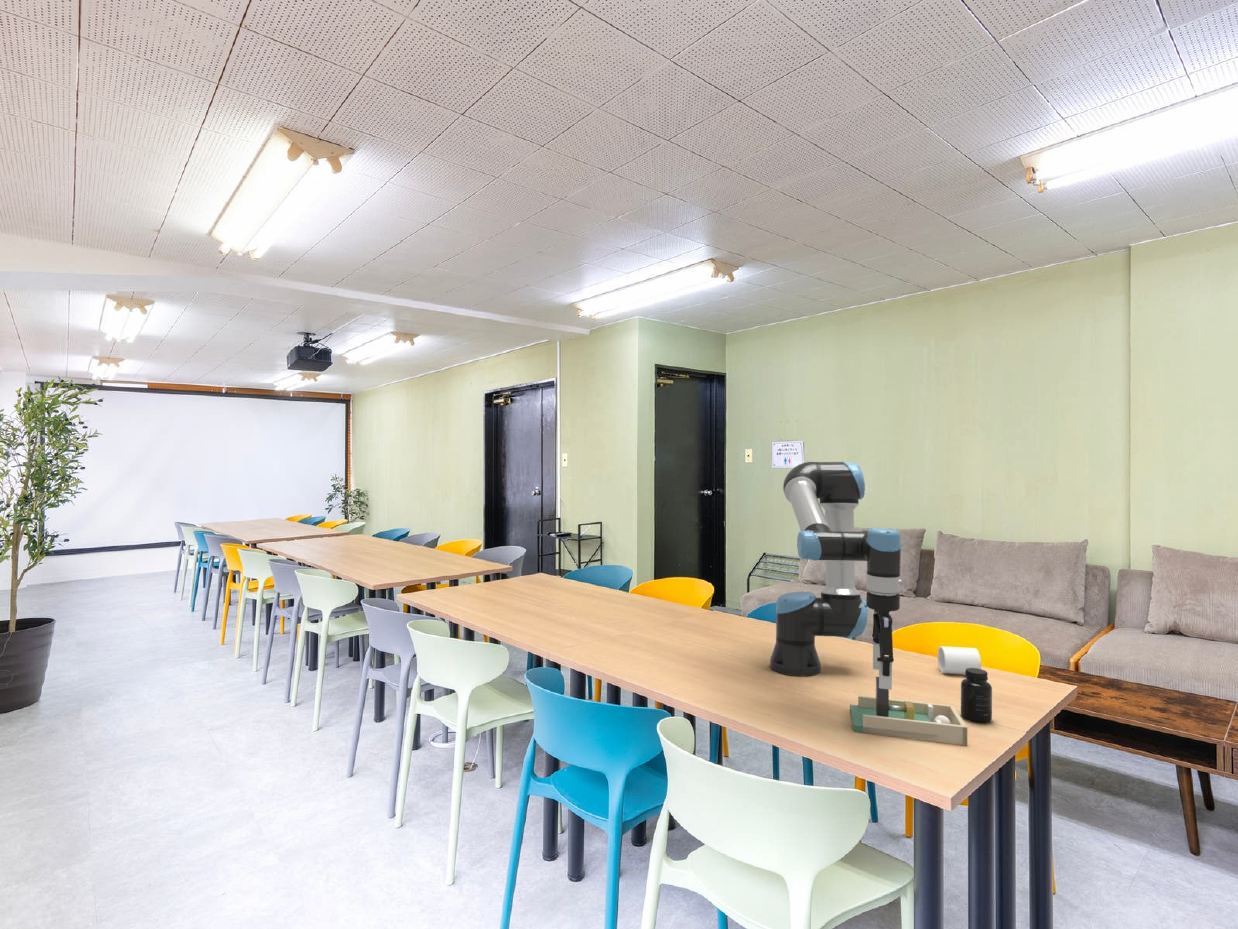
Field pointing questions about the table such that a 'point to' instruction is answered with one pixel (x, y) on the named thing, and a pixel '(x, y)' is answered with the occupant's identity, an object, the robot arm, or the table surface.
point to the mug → (958, 659)
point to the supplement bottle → (976, 696)
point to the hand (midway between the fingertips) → (881, 678)
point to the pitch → (910, 721)
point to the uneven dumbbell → (884, 706)
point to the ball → (943, 719)
